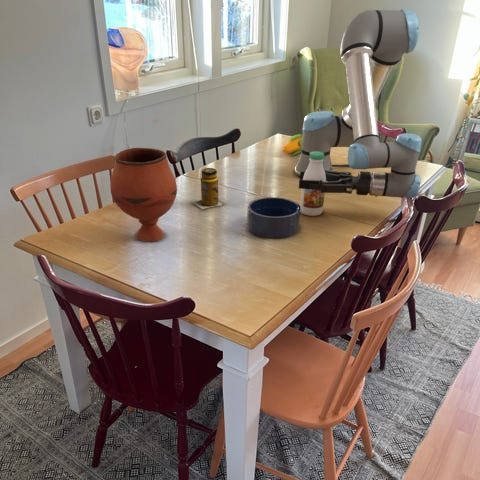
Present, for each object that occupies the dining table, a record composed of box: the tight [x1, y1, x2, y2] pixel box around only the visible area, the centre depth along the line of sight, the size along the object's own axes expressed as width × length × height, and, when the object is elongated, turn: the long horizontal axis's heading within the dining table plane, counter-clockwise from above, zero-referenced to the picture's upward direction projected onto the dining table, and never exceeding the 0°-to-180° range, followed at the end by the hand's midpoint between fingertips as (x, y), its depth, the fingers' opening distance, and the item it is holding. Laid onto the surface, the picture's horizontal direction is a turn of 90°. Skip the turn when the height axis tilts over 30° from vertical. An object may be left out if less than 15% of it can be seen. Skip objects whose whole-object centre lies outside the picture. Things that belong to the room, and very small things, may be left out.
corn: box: [282, 133, 302, 156], centre depth 218 cm, size 7×8×20 cm
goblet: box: [109, 147, 178, 243], centre depth 141 cm, size 19×19×25 cm
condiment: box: [192, 167, 224, 210], centre depth 166 cm, size 7×8×12 cm
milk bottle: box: [299, 151, 327, 217], centre depth 159 cm, size 8×8×20 cm
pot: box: [246, 196, 301, 240], centre depth 152 cm, size 17×17×7 cm
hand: (299, 179), depth 159 cm, fingers closed on milk bottle, 8 cm apart
